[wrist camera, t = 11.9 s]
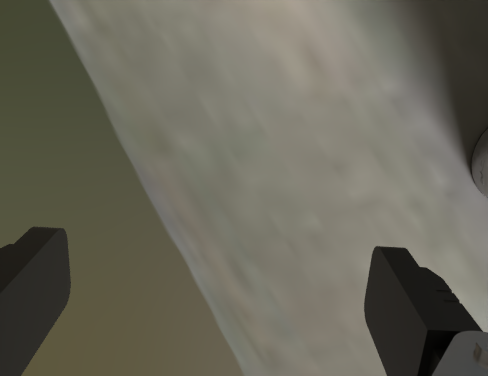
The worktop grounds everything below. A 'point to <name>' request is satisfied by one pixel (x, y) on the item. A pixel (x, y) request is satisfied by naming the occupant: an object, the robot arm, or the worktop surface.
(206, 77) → the worktop surface
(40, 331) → the robot arm
